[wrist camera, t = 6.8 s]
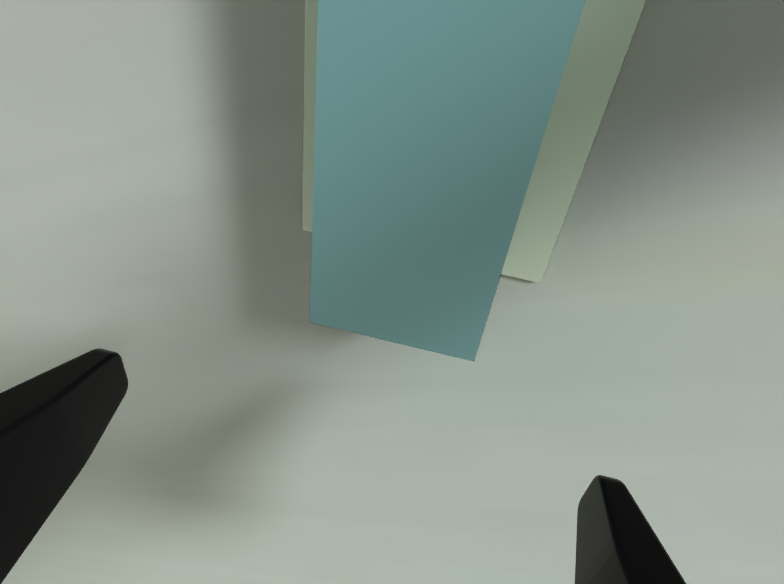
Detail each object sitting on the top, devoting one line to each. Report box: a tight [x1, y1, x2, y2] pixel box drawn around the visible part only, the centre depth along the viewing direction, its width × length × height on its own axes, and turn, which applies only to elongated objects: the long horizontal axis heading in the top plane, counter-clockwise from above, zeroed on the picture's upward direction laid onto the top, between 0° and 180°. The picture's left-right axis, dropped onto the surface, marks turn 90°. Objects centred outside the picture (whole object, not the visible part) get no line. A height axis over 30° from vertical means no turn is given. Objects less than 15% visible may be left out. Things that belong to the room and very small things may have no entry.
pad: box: [302, 0, 646, 283], centre depth 13 cm, size 8×13×1 cm, turn 173°
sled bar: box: [310, 0, 586, 361], centre depth 10 cm, size 4×14×4 cm, turn 173°
